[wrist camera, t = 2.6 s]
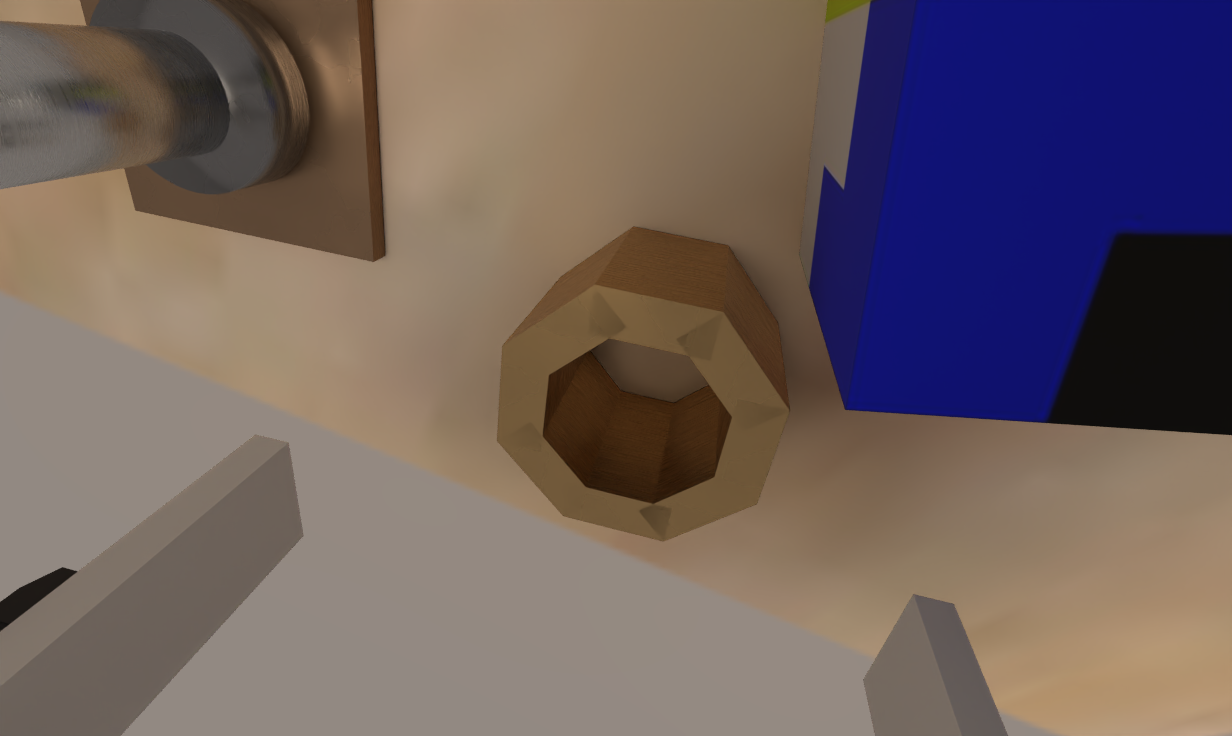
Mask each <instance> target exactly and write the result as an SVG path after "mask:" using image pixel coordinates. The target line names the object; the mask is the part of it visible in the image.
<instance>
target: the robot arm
mask: <svg viewBox="0 0 1232 736" xmlns="http://www.w3.org/2000/svg"><path fill="white" fill-rule="evenodd" d="M302 537H303V530H302V524H301V517H300V512H299V505H298V499H297V492H296V486H295V480H294V473H293V467H292V461H291V455H290V448H289V443H288V442H284V441H280V440H276V439H272V438H267V437H263V436H259V435H254V436H253V437H252V438H251V439H249V440H248V441H247V442H245V443H244V444H243V445H242V446H241V447H239V448H238V449H236V450H235V451H234V452H232V453H231V454H230V455H229V456H227V457H226V458H225V459H223V460H222V461H221V462H219V463H218V464H217V465H216V466H214V467H213V468H212V469H210V470H209V471H208V472H206V473H205V474H204V475H203V476H201V477H200V478H199V479H197V480H196V481H195V482H194V483H192V484H191V485H190V486H188V487H187V488H186V489H184V490H183V491H182V492H181V493H179V494H178V495H177V496H175V497H174V498H173V499H172V500H170V501H169V502H168V503H166V504H165V505H164V506H162V507H161V508H160V509H158V510H157V511H156V512H155V513H153V514H152V515H151V516H149V517H148V518H147V519H146V520H144V521H143V522H142V523H140V524H139V525H138V526H136V527H135V528H134V529H133V530H132V531H130V532H129V533H128V534H126V535H125V536H123V537H122V538H121V539H120V540H118V541H117V542H116V543H114V544H113V545H112V546H110V547H109V548H108V549H107V550H105V551H104V552H103V553H101V554H100V555H99V556H98V557H96V558H95V559H94V560H92V561H91V562H90V563H88V564H87V565H86V566H85V567H83V568H82V569H81V570H79V571H78V572H77V571H74V570H70V569H66V568H63V567H62V568H60V569H58V570H56V571H54V572H52V573H50V574H48V575H45V576H43V577H41V578H39V579H37V580H35V581H33V582H31V583H29V584H27V585H25V586H23V587H21V588H19V589H17V590H16V591H15V592H13V593H12V594H11V595H9V596H8V597H7V598H5V599H4V600H2V601H1V602H0V736H121V735H122V734H123V732H124V731H125V730H126V729H127V728H128V727H129V726H130V725H131V724H132V723H133V721H134V720H135V719H136V718H137V717H138V716H139V715H140V714H141V713H142V712H143V711H144V710H145V708H146V707H147V706H148V705H149V704H150V703H151V702H152V701H153V700H154V698H155V697H156V696H157V695H158V694H159V693H160V692H161V691H162V690H163V689H164V688H165V687H166V685H167V684H168V683H169V682H170V681H171V680H172V679H173V678H174V677H175V676H176V675H177V673H178V672H179V671H180V670H181V669H182V668H183V667H184V666H185V665H186V663H187V662H188V661H189V660H190V659H191V658H192V657H193V656H194V655H195V654H196V653H197V652H198V651H199V649H200V648H201V647H202V646H203V645H204V644H205V643H206V642H207V641H208V640H209V639H210V637H211V636H212V635H213V634H214V633H215V632H216V631H217V630H218V629H219V628H220V626H221V625H222V624H223V623H224V622H225V621H226V620H227V619H228V618H229V617H230V616H231V614H232V613H233V612H234V611H235V610H236V609H237V608H238V607H239V605H241V604H242V602H243V601H244V600H245V599H246V598H247V597H248V596H249V595H250V593H252V592H253V590H254V589H255V588H256V587H257V586H258V585H259V584H260V583H261V582H262V581H263V579H264V578H265V577H266V576H267V575H268V574H269V573H270V572H271V570H273V569H274V567H275V566H276V565H277V564H278V563H279V562H280V561H281V560H282V559H283V558H284V557H285V555H286V554H287V553H288V552H289V551H290V550H291V549H292V548H293V547H294V546H295V545H296V543H297V542H298V541H299V540H300V539H301V538H302ZM863 681H864V685H865V690H866V695H867V700H868V705H869V709H870V713H871V719H872V723H873V728H874V733H875V736H1008V735H1007V732H1006V730H1005V727H1004V725H1003V722H1002V720H1001V718H1000V715H999V713H998V710H997V708H996V705H995V703H994V700H993V698H992V696H991V693H990V691H989V688H988V686H987V683H986V681H985V679H984V676H983V674H982V671H981V669H980V666H979V664H978V662H977V659H976V657H975V654H974V652H973V649H972V647H971V645H970V642H969V640H968V637H967V635H966V632H965V630H964V627H963V625H962V623H961V620H960V618H959V615H958V613H957V610H956V608H955V606H954V604H952V603H948V602H944V601H939V600H935V599H931V598H927V597H923V596H919V595H915V594H913V596H912V598H911V599H910V601H909V603H908V604H907V606H906V608H905V609H904V611H903V613H902V615H901V616H900V618H899V620H898V621H897V623H896V625H895V626H894V628H893V630H892V632H891V633H890V635H889V637H888V638H887V640H886V642H885V644H884V645H883V647H882V649H881V650H880V652H879V654H878V655H877V657H876V659H875V661H874V662H873V664H872V666H871V668H870V670H869V671H868V673H867V674H866V676H865V678H864V679H863Z"/></svg>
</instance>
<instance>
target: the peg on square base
mask: <svg viewBox="0 0 1232 736" xmlns="http://www.w3.org/2000/svg"><path fill="white" fill-rule="evenodd" d="M80 2H81V6H82V10H83V13H84V17H85V21H86V25H87V26H81V25H63V24H46V23H28V22H11V21H0V189H4V188H10V187H16V186H22V185H28V184H33V183H39V182H45V181H51V180H57V179H63V178H69V177H75V176H81V175H86V174H92V173H98V172H104V171H110V170H116V169H122V168H124V169H125V173H126V176H127V180H128V184H129V188H130V192H131V195H132V199H133V203H134V207H135V210H136V211H140V212H145V213H150V214H154V215H159V216H164V217H168V218H173V219H177V220H182V221H187V222H191V223H196V224H201V225H205V226H210V227H215V228H219V229H224V230H228V231H233V232H238V233H242V234H247V235H252V236H256V237H261V238H265V239H270V240H275V241H279V242H284V243H289V244H293V245H298V246H302V247H307V248H312V249H316V250H321V251H326V252H330V253H335V254H340V255H344V256H349V257H353V258H358V259H363V260H367V261H372V262H374V261H376V260H378V259H380V258H382V257H383V256H385V245H384V226H383V207H382V188H381V170H380V151H379V132H378V113H377V94H376V75H375V56H374V37H373V18H372V0H80Z"/></svg>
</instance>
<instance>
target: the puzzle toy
mask: <svg viewBox="0 0 1232 736" xmlns="http://www.w3.org/2000/svg"><path fill="white" fill-rule="evenodd" d="M799 255H800V259H801V262H802V266H803V269H804V272H805V276H806V279H807V282H808V286H809V289H810V293H811V296H812V299H813V303H814V306H815V310H816V313H817V316H818V320H819V323H820V326H821V330H822V333H823V337H824V340H825V343H826V347H827V350H828V353H829V357H830V360H831V364H832V367H833V370H834V374H835V377H836V380H837V384H838V387H839V391H840V394H841V397H842V401H843V404H844V407H845V410H855V411H871V412H886V413H901V414H917V415H932V416H947V417H963V418H978V419H993V420H1008V421H1024V422H1039V423H1054V424H1070V425H1085V426H1100V427H1116V428H1131V429H1146V430H1162V431H1177V432H1192V433H1208V434H1223V435H1232V0H828V3H827V11H826V20H825V29H824V38H823V47H822V56H821V65H820V74H819V83H818V92H817V101H816V110H815V119H814V127H813V136H812V145H811V154H810V163H809V172H808V181H807V190H806V199H805V208H804V217H803V226H802V235H801V244H800V252H799Z"/></svg>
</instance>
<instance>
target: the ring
mask: <svg viewBox="0 0 1232 736" xmlns="http://www.w3.org/2000/svg"><path fill="white" fill-rule="evenodd" d="M609 338H610V339H614V340H619V341H623V342H628V343H632V344H637V345H641V346H646V347H650V348H655V349H659V350H664V351H669V352H673V353H678V354H682V355H687V356H689V357H690V359H691V360H692V361H693V363H694V364H695V366H696V367H697V368H698V370H699V371H700V373H701V374H702V375H703V377H704V378H705V380H706V381H707V382H708V384H709V385H708V386H706V387H704V388H702V389H700V390H699V391H697V392H695V393H693V394H691V395H689V396H687V397H685V398H683V399H681V400H679V401H677V402H675V403H670V402H665V401H661V400H657V399H652V398H648V397H644V396H639V395H635V394H631V393H626V392H622V391H620V389H619V388H618V387H617V385H616V384H615V383H614V381H613V380H612V379H611V378H610V376H609V375H608V374H607V372H606V371H605V370H604V369H603V367H602V366H601V365H600V363H599V362H598V361H597V359H596V358H595V357H594V356H593V354H592V353H591V352H590V350H591V349H593V348H594V347H596V346H598V345H599V344H601V343H603V342H604V341H606V340H607V339H609ZM789 412H790V407H789V400H788V393H787V385H786V378H785V371H784V364H783V356H782V349H781V342H780V335H779V327H778V322H777V321H776V319H775V318H774V316H773V314H772V313H771V311H770V310H769V308H768V307H767V305H766V304H765V302H764V300H763V299H762V297H761V296H760V294H759V293H758V291H757V290H756V288H755V287H754V285H753V283H752V282H751V280H750V279H749V277H748V276H747V274H746V273H745V271H744V269H743V268H742V266H741V265H740V263H739V262H738V260H737V259H736V257H735V255H734V254H733V252H732V251H731V249H730V248H729V246H728V245H723V244H718V243H713V242H708V241H703V240H698V239H693V238H688V237H683V236H678V235H673V234H668V233H663V232H658V231H653V230H648V229H643V228H638V227H632V228H631V229H629V230H628V231H626V232H625V233H624V234H622V235H621V236H619V237H618V238H616V239H615V240H613V241H612V242H611V243H609V244H608V245H606V246H605V247H603V248H602V249H600V250H599V251H598V252H596V253H595V254H593V255H592V256H590V257H589V258H587V259H586V260H585V261H583V262H582V263H580V264H579V265H577V266H576V267H574V268H573V269H572V270H570V271H569V272H567V273H566V274H564V275H563V276H561V277H560V278H559V280H558V281H557V282H556V283H555V284H554V286H553V287H552V288H551V289H550V290H549V291H548V293H547V294H546V295H545V296H544V297H543V298H542V300H541V301H540V302H539V303H538V304H537V306H536V307H535V308H534V309H533V310H532V311H531V313H530V314H529V315H528V316H527V317H526V319H525V320H524V321H523V322H522V323H521V324H520V326H519V327H518V328H517V329H516V330H515V332H514V333H513V334H512V335H511V336H510V337H509V339H508V340H507V341H506V342H505V343H504V345H503V346H502V361H501V379H500V397H499V415H498V433H497V441H498V443H499V444H500V445H501V446H502V447H503V448H504V449H505V450H506V452H507V453H508V454H509V455H510V456H511V457H512V458H513V460H514V461H515V462H516V463H517V464H518V465H519V466H520V468H521V469H522V470H523V471H524V472H525V473H526V474H527V475H528V477H529V478H530V479H531V480H532V481H533V482H534V483H535V485H536V486H537V487H538V488H539V489H540V490H541V491H542V493H543V494H544V495H545V496H546V497H547V498H548V499H549V500H550V502H551V503H552V504H553V505H554V506H555V507H556V508H557V510H558V511H559V512H560V513H561V514H562V515H563V516H565V517H569V518H573V519H577V520H581V521H585V522H589V523H593V524H597V525H601V526H605V527H609V528H612V529H616V530H620V531H624V532H628V533H632V534H636V535H640V536H644V537H648V538H652V539H656V540H660V541H666V540H668V539H671V538H673V537H676V536H678V535H681V534H683V533H686V532H688V531H691V530H693V529H696V528H698V527H701V526H703V525H706V524H708V523H711V522H713V521H716V520H718V519H721V518H723V517H726V516H728V515H731V514H733V513H736V512H738V511H741V510H743V509H746V508H748V507H751V506H753V505H756V504H757V502H758V500H759V497H760V494H761V491H762V488H763V485H764V483H765V480H766V477H767V474H768V471H769V469H770V466H771V463H772V460H773V457H774V454H775V452H776V449H777V446H778V443H779V440H780V438H781V435H782V432H783V429H784V426H785V424H786V421H787V418H788V415H789Z"/></svg>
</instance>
